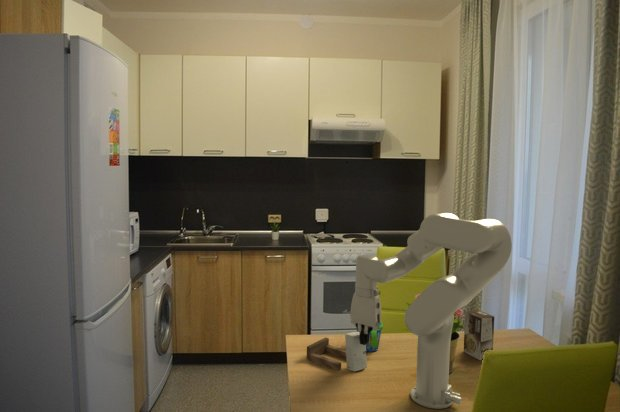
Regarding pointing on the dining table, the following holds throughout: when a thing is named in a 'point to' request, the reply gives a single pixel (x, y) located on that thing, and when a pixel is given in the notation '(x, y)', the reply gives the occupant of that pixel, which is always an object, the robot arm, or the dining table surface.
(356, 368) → the skincare box
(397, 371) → the dining table surface
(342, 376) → the dining table surface
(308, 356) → the u rest
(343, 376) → the dining table surface
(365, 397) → the dining table surface
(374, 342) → the snack cup
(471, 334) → the coffee box
